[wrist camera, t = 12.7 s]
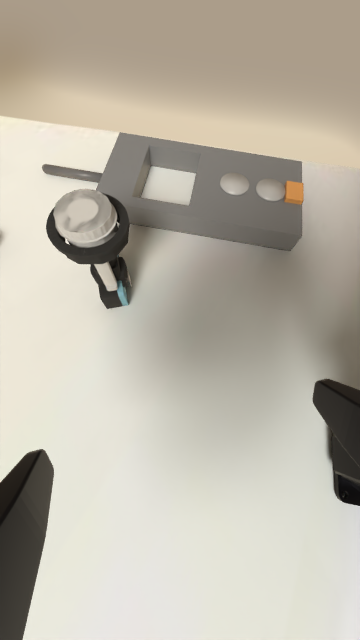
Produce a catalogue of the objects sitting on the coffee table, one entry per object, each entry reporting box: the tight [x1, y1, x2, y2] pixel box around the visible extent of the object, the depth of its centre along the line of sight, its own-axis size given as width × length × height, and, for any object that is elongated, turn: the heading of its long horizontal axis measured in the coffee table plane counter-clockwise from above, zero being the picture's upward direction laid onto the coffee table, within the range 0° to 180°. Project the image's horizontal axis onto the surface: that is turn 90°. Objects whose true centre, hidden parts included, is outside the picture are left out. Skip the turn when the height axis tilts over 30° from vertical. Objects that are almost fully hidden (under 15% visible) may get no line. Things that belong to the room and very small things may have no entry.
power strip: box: [42, 132, 303, 251], centre depth 27 cm, size 30×11×3 cm, turn 80°
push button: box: [46, 189, 132, 309], centre depth 20 cm, size 7×5×10 cm
